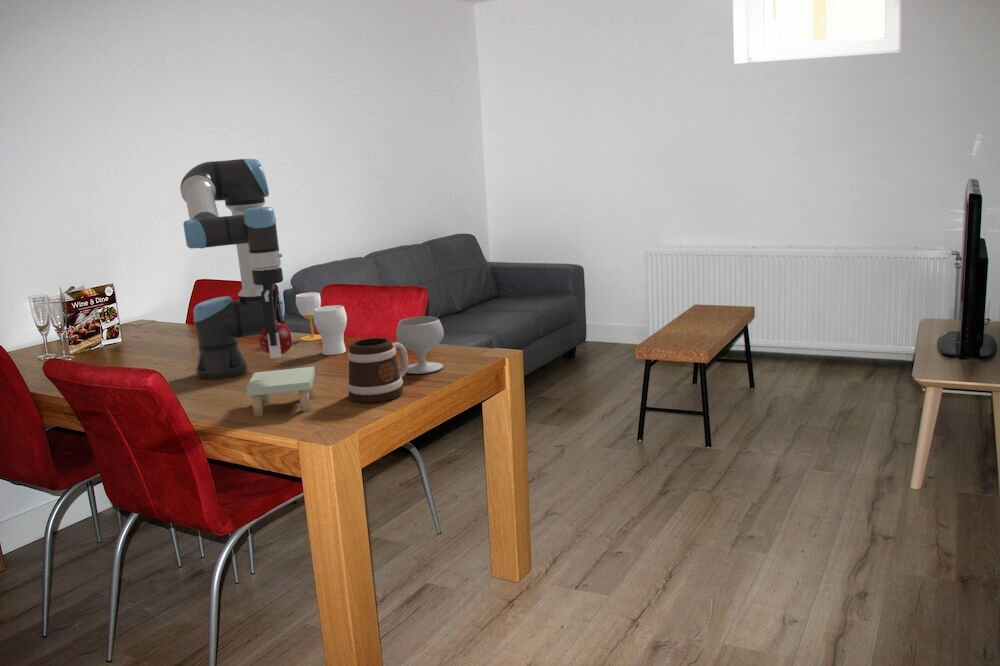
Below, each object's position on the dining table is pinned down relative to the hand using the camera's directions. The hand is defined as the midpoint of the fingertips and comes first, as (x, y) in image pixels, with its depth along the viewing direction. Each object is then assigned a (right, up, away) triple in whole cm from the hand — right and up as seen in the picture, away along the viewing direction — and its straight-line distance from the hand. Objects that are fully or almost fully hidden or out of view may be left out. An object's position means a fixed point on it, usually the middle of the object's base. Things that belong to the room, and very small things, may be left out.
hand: (278, 353), depth 223 cm
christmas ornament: (0, -1, 0) cm, 1 cm away
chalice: (+35, -6, +30) cm, 47 cm away
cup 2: (-9, +3, +84) cm, 84 cm away
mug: (+26, -11, +8) cm, 30 cm away
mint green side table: (+1, -14, +3) cm, 15 cm away
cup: (+3, -1, +60) cm, 60 cm away
